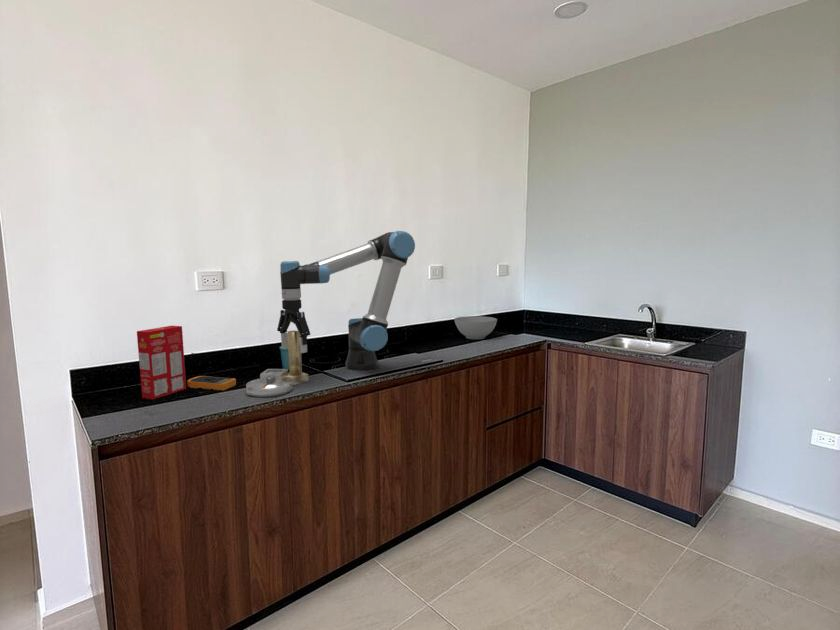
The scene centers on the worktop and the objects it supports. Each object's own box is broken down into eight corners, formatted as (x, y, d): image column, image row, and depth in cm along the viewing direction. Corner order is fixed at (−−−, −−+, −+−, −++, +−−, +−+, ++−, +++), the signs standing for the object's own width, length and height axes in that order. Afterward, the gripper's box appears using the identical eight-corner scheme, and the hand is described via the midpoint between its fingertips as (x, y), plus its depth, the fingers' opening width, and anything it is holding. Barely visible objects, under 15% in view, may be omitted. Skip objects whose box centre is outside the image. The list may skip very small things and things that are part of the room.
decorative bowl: (474, 332, 310) (474, 315, 309) (505, 338, 290) (505, 319, 289) (445, 337, 293) (445, 318, 292) (476, 343, 273) (476, 323, 271)
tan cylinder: (295, 372, 194) (293, 330, 192) (304, 373, 192) (302, 330, 190) (286, 374, 190) (285, 332, 187) (296, 376, 188) (294, 332, 185)
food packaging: (176, 387, 183) (171, 325, 179) (186, 388, 181) (181, 326, 178) (142, 398, 169) (136, 331, 166) (152, 399, 167) (147, 332, 164)
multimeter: (200, 382, 191) (199, 374, 190) (237, 385, 186) (237, 377, 185) (184, 388, 182) (184, 380, 182) (223, 392, 178) (223, 383, 177)
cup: (306, 370, 209) (304, 338, 207) (291, 373, 203) (289, 340, 201) (289, 365, 218) (287, 334, 216) (274, 368, 213) (272, 336, 211)
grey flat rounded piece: (257, 383, 187) (256, 368, 186) (298, 383, 187) (298, 369, 186) (239, 396, 169) (238, 380, 169) (284, 397, 169) (284, 381, 168)
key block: (297, 377, 196) (297, 371, 196) (308, 381, 191) (308, 374, 191) (280, 381, 191) (280, 374, 190) (291, 385, 185) (291, 378, 185)
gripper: (266, 298, 192) (269, 348, 195) (301, 301, 176) (304, 356, 178) (282, 296, 198) (285, 345, 200) (317, 300, 181) (320, 352, 184)
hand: (294, 350), depth 189 cm, fingers open, 13 cm apart
